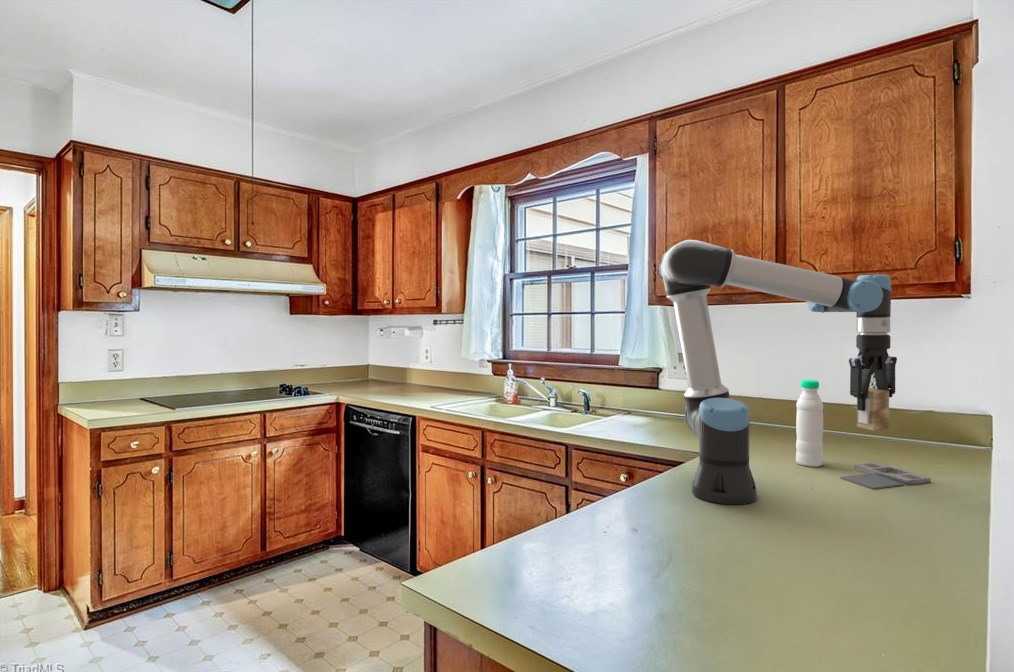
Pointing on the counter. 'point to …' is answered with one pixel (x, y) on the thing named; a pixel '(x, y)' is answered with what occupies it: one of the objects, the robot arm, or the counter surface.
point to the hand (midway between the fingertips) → (872, 421)
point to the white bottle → (809, 425)
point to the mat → (871, 481)
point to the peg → (877, 410)
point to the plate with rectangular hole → (902, 476)
